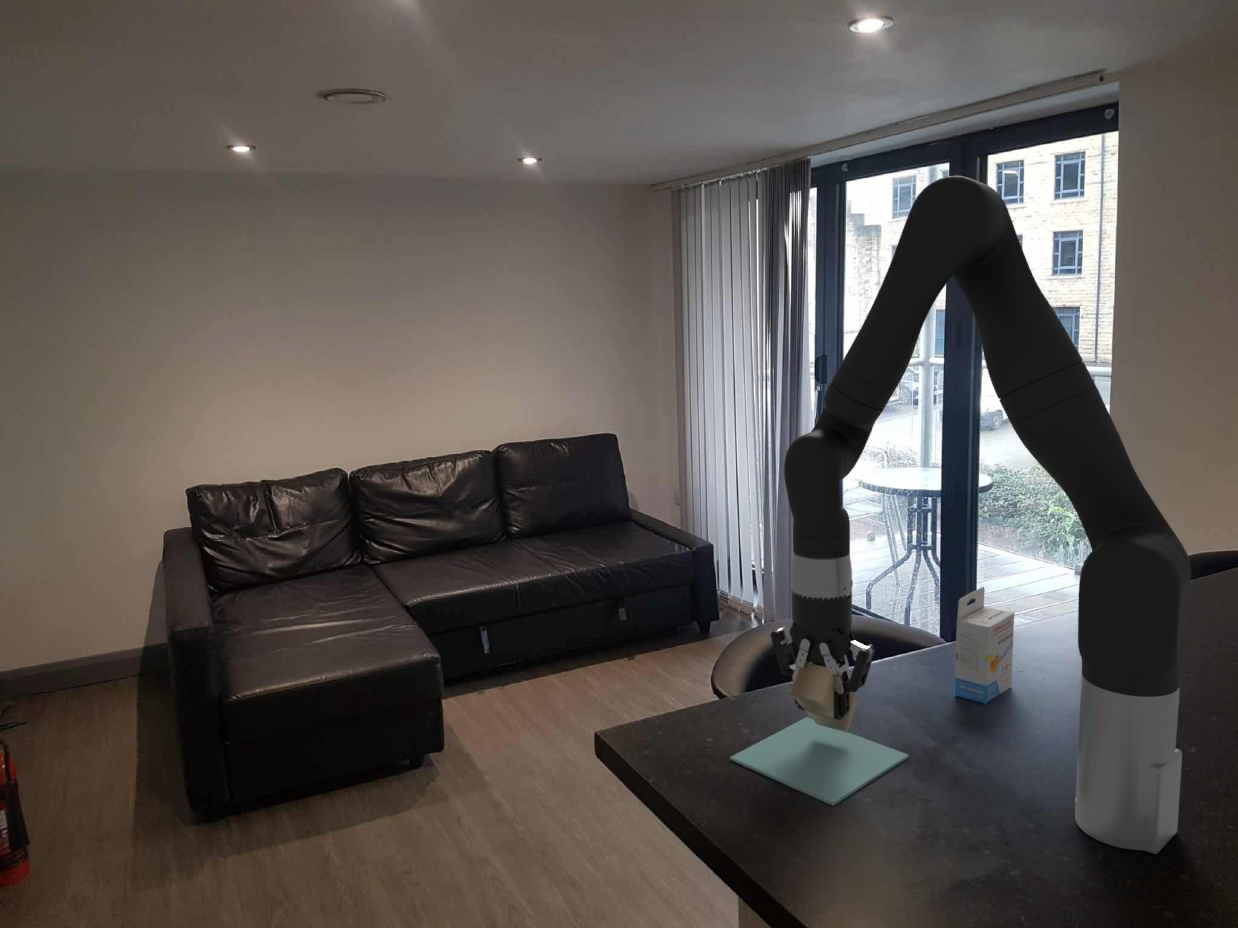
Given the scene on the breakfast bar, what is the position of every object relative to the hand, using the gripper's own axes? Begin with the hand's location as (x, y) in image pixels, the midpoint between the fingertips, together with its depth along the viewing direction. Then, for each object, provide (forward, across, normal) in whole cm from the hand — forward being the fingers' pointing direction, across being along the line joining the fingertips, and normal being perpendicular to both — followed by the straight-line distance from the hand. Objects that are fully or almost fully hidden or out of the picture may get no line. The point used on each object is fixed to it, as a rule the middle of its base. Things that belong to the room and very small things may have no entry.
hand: (821, 711), depth 123 cm
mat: (+5, +1, -2) cm, 6 cm away
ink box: (+6, +11, +29) cm, 32 cm away
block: (+2, 0, +4) cm, 5 cm away
